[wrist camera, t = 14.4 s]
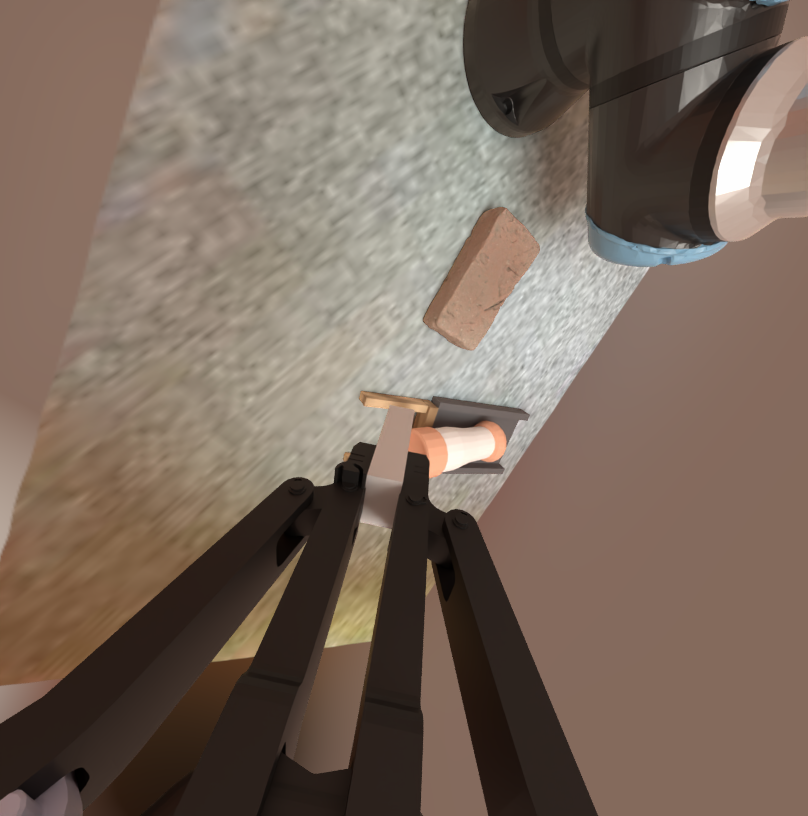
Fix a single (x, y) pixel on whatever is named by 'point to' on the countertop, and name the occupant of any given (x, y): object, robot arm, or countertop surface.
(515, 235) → the brick
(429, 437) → the salt shaker
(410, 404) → the oak cradle
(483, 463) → the grey tray
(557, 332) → the countertop surface
